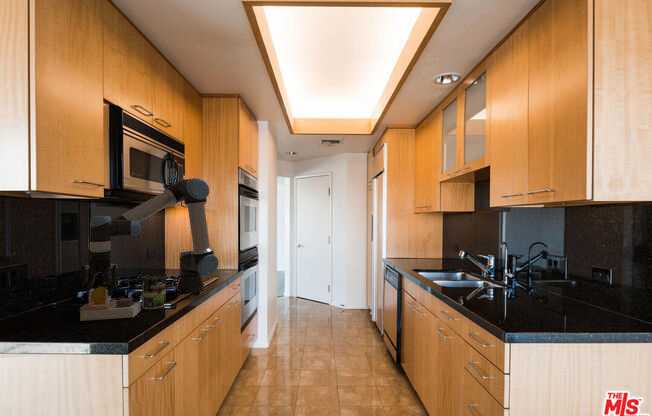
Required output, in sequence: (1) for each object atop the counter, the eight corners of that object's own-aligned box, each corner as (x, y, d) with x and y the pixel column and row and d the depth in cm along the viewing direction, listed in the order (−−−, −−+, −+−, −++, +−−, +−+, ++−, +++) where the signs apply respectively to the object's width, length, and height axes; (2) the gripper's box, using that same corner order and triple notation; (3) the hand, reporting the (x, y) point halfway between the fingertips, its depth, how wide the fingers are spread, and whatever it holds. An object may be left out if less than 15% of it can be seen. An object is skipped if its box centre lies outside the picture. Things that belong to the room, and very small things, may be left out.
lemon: (103, 305, 137) (103, 287, 137) (89, 306, 136) (89, 287, 136) (109, 302, 143) (109, 284, 143) (95, 302, 142) (96, 285, 142)
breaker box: (141, 310, 147) (141, 298, 148) (133, 317, 138) (133, 304, 138) (91, 313, 143) (92, 301, 143) (80, 320, 133) (80, 307, 133)
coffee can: (170, 305, 155) (170, 276, 155) (148, 310, 147) (148, 280, 147) (160, 302, 161) (160, 274, 162) (138, 306, 153) (138, 277, 153)
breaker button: (133, 311, 144) (133, 297, 145) (129, 314, 140) (129, 300, 140) (120, 311, 143) (120, 298, 143) (116, 315, 138) (116, 301, 139)
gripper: (127, 249, 145) (126, 300, 145) (80, 250, 141) (79, 302, 141) (120, 251, 138) (119, 304, 138) (71, 252, 134) (70, 307, 133)
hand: (99, 303), depth 139 cm, fingers closed on lemon, 5 cm apart
